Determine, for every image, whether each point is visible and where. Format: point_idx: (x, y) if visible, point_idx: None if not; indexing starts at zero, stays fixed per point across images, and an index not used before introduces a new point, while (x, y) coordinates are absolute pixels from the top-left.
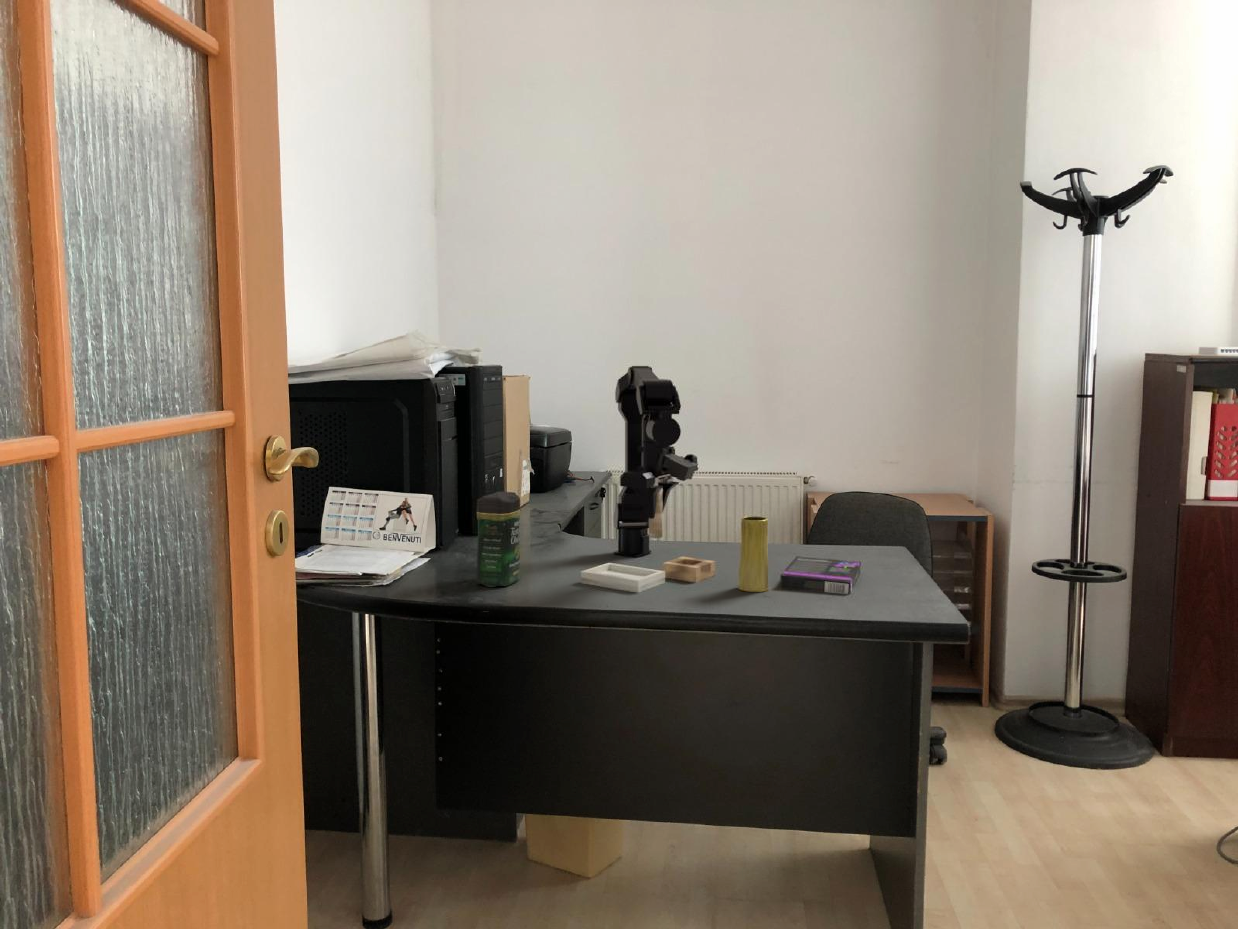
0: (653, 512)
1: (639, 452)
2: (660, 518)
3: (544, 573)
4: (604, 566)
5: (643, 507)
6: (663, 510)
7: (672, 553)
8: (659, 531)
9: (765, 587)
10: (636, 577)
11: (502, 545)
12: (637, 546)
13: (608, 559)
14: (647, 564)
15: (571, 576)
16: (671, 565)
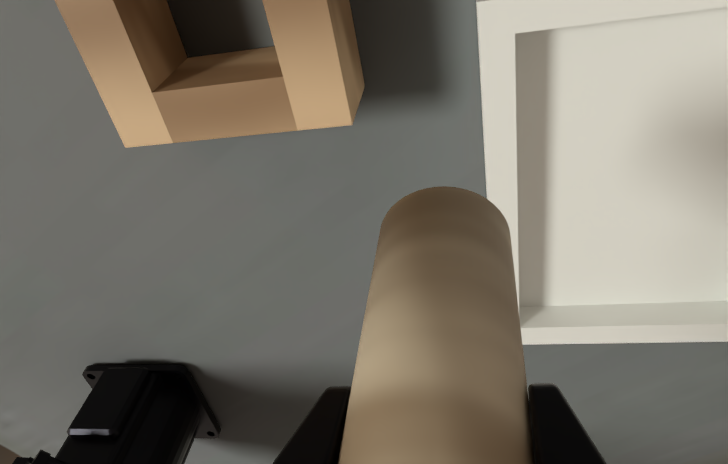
0: (599, 453)
1: None
2: (453, 337)
3: (638, 449)
4: (570, 324)
5: None
6: (293, 441)
7: (10, 314)
8: (466, 230)
9: None
10: (598, 120)
11: None
12: (150, 406)
13: (291, 410)
14: (224, 285)
15: (629, 375)
16: (339, 57)
